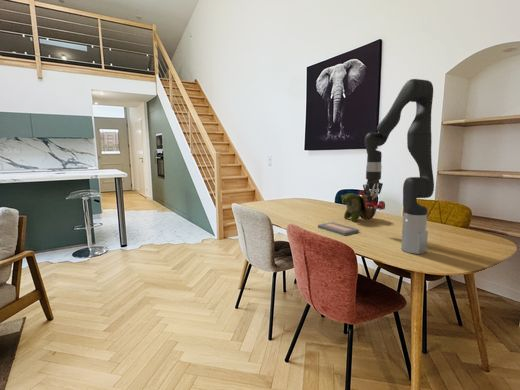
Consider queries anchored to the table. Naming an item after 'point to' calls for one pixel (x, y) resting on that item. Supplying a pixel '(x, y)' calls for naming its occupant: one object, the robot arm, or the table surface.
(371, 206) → the toy fire truck
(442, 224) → the table surface
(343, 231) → the board
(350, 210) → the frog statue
